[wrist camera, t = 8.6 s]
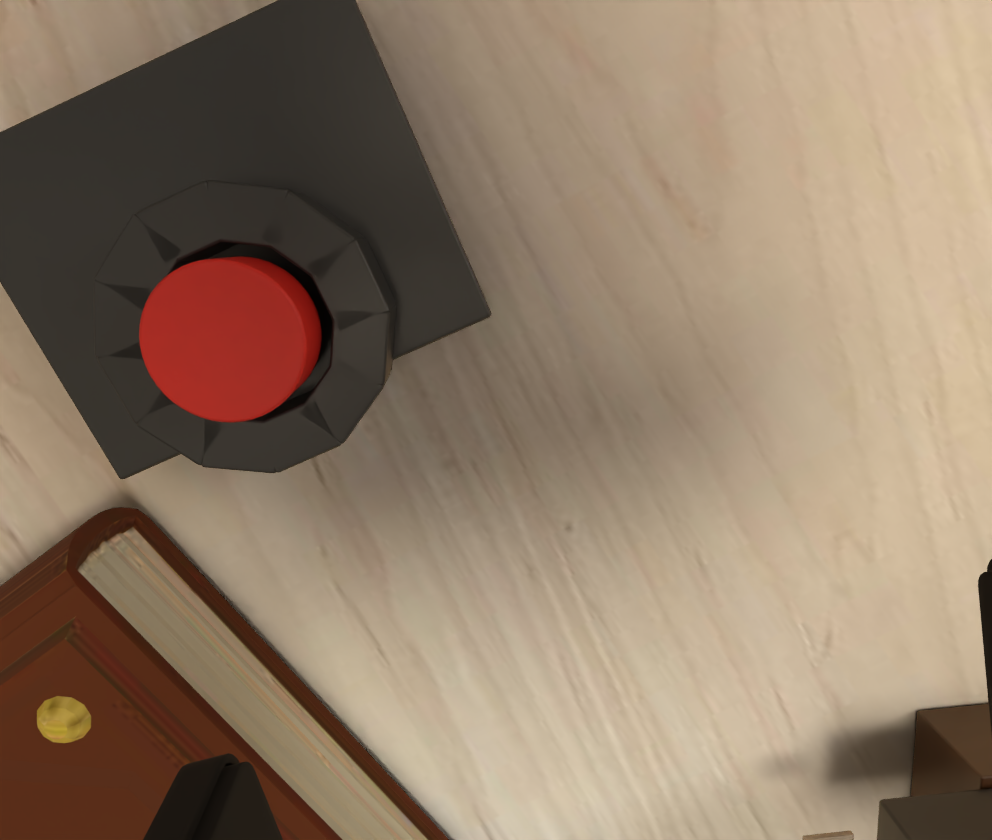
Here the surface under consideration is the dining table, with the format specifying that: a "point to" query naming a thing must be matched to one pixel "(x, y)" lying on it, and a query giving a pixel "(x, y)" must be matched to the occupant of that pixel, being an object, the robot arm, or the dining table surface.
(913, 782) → the rack base
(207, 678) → the book
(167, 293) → the button
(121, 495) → the dining table surface
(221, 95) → the button box
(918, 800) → the dark grey rectangular block
